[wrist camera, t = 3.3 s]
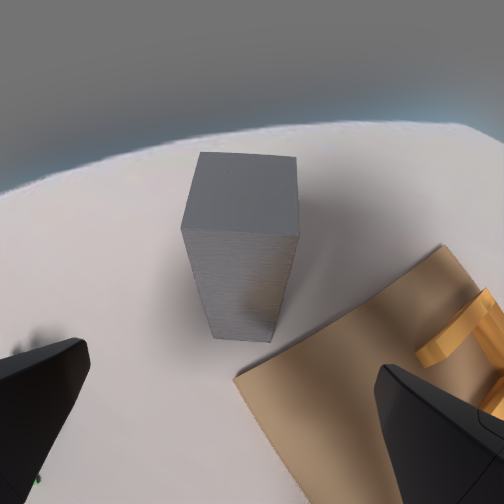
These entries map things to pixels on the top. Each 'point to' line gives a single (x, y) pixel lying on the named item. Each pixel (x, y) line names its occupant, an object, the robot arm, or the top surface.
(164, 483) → the top surface
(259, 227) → the link bar
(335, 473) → the plate
